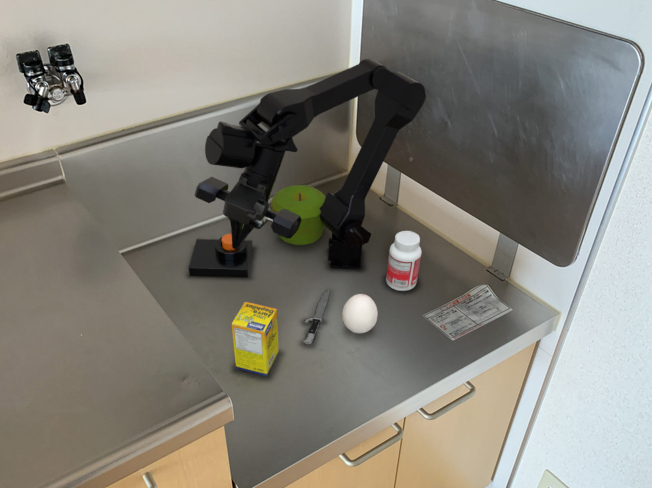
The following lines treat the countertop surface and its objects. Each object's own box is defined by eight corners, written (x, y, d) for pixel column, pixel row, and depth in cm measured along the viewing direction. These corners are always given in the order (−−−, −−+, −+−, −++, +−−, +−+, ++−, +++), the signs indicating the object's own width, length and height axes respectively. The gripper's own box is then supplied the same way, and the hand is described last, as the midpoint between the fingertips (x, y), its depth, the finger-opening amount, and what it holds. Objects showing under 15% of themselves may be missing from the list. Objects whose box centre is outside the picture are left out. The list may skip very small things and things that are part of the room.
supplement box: (279, 353, 109) (278, 308, 101) (267, 377, 104) (265, 331, 97) (248, 345, 110) (244, 300, 103) (235, 369, 106) (230, 323, 99)
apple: (335, 247, 132) (338, 203, 125) (281, 257, 130) (280, 212, 122) (316, 216, 141) (318, 173, 134) (265, 225, 139) (264, 181, 131)
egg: (340, 317, 116) (343, 285, 110) (374, 317, 115) (378, 285, 110) (341, 341, 111) (344, 308, 106) (377, 341, 111) (381, 309, 105)
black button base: (252, 248, 132) (251, 233, 129) (248, 277, 125) (247, 262, 122) (197, 247, 133) (195, 232, 130) (189, 276, 125) (187, 260, 122)
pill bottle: (407, 270, 126) (414, 225, 119) (422, 288, 122) (430, 243, 115) (380, 276, 125) (385, 232, 117) (394, 295, 120) (400, 250, 113)
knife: (297, 343, 110) (313, 345, 110) (297, 340, 110) (313, 342, 109) (317, 289, 122) (332, 291, 121) (317, 286, 121) (332, 288, 120)
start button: (240, 240, 128) (240, 233, 127) (238, 251, 125) (238, 244, 124) (223, 240, 128) (222, 233, 127) (221, 250, 126) (220, 243, 124)
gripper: (193, 157, 98) (170, 241, 106) (298, 204, 97) (267, 286, 104) (219, 145, 108) (196, 222, 115) (314, 187, 106) (285, 263, 114)
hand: (235, 248), depth 112 cm, fingers closed
